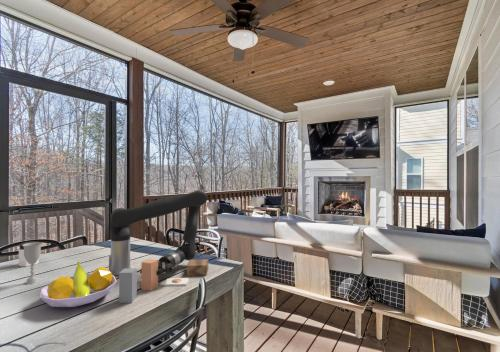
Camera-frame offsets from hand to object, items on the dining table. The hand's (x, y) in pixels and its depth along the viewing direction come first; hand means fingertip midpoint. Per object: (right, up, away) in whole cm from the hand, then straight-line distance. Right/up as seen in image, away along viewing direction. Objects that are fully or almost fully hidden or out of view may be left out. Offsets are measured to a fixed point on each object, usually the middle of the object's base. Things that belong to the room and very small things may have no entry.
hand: (149, 272), depth 122 cm
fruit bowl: (-24, -7, -10) cm, 27 cm away
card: (+11, -7, +6) cm, 14 cm away
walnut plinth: (+18, -7, +21) cm, 28 cm away
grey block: (-4, -7, -12) cm, 14 cm away
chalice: (-57, -7, +6) cm, 58 cm away
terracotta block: (0, -7, +1) cm, 7 cm away
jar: (-80, -7, +32) cm, 86 cm away
